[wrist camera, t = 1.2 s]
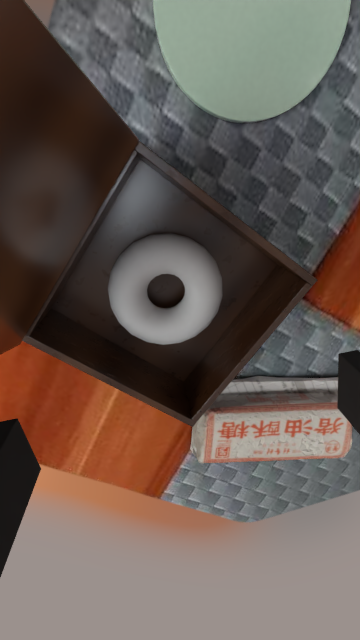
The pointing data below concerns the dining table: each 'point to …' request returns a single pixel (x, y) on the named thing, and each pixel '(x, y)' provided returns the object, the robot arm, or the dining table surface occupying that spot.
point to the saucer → (249, 51)
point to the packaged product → (273, 422)
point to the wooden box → (167, 293)
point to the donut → (154, 260)
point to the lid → (47, 163)
